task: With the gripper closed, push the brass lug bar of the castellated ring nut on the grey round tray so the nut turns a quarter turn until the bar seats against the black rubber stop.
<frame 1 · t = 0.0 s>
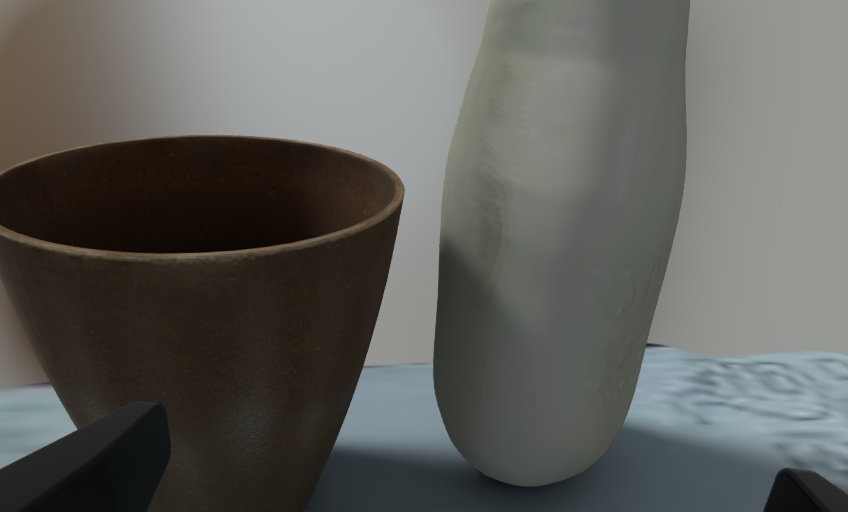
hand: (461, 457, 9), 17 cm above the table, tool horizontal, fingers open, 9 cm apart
plant pot: (236, 498, 29), on the table
grey bottle: (518, 457, 33), on the table
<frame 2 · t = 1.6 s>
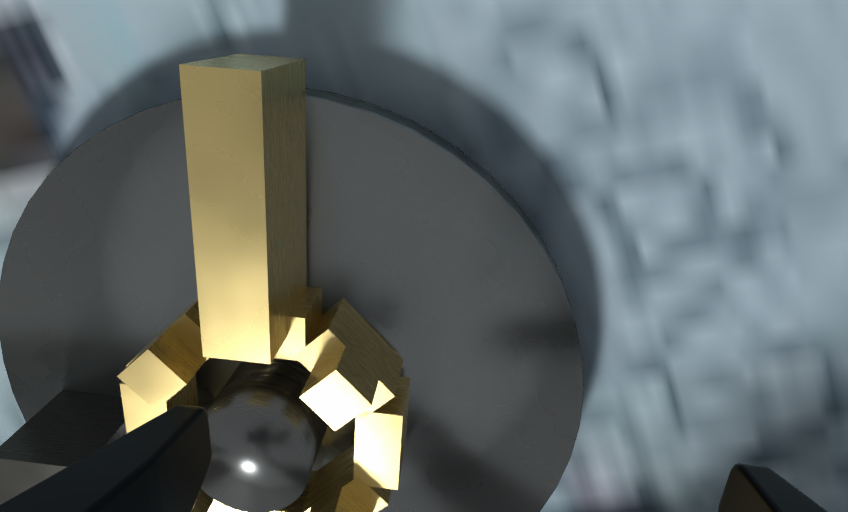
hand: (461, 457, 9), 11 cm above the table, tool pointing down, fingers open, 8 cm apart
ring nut: (259, 338, 17), point 4 cm above the table, hinge at 0.0°
grey round tray: (296, 369, 22), on the table
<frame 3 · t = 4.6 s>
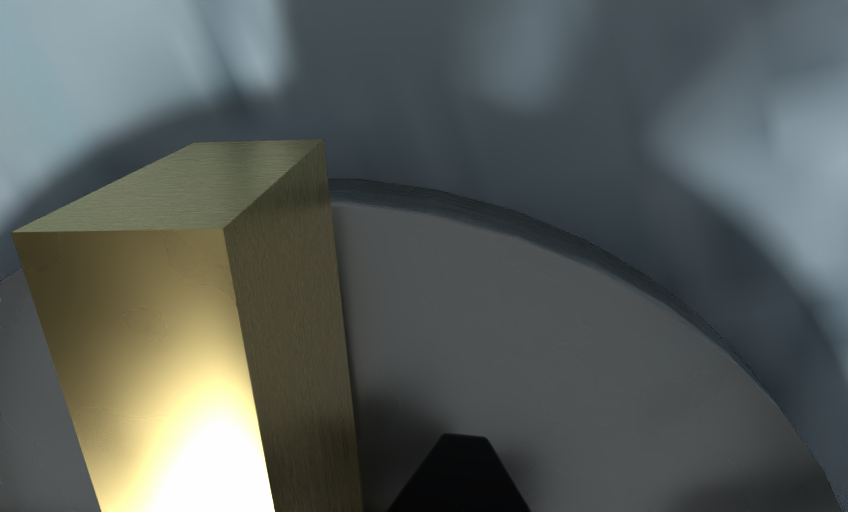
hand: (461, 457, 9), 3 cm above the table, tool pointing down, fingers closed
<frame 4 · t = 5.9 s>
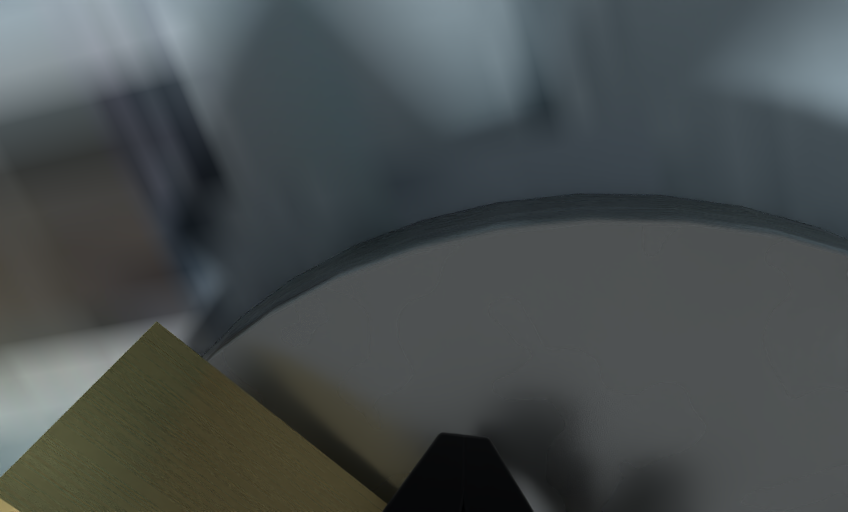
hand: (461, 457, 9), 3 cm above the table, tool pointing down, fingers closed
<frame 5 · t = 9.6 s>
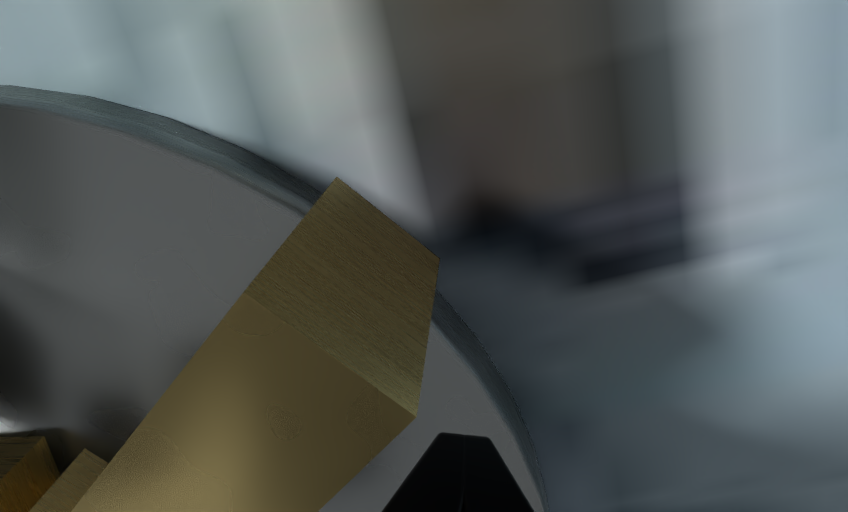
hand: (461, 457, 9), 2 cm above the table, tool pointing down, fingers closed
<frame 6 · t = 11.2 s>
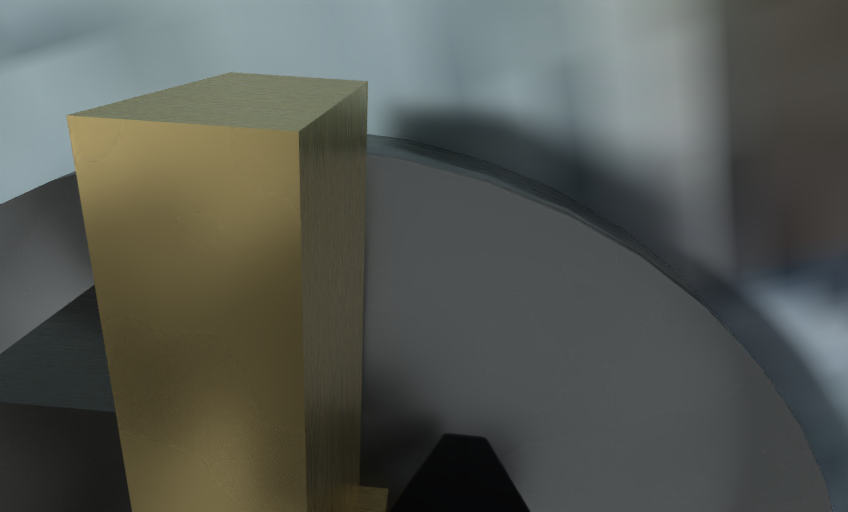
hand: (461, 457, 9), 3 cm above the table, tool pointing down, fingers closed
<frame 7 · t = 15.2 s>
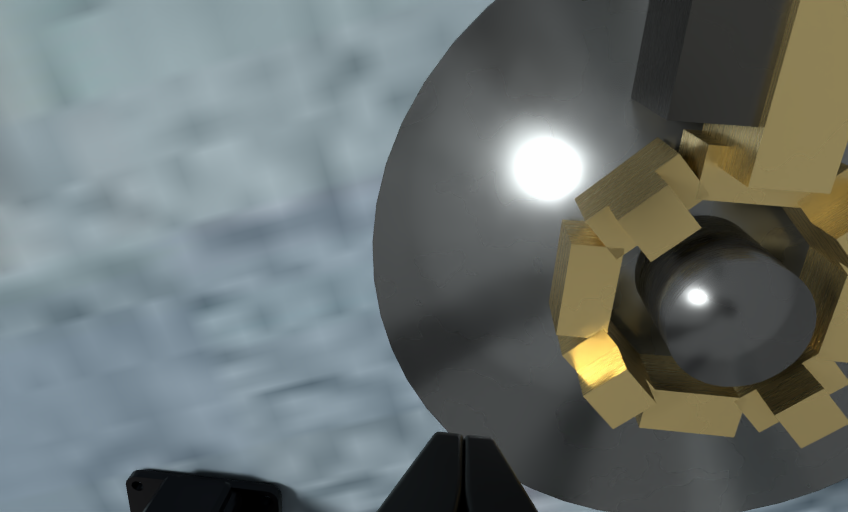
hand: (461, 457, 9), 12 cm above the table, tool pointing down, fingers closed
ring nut: (752, 184, 15), point 4 cm above the table, hinge at 90.0°, touching grey round tray
grey round tray: (680, 252, 20), on the table
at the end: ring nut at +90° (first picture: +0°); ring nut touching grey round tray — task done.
